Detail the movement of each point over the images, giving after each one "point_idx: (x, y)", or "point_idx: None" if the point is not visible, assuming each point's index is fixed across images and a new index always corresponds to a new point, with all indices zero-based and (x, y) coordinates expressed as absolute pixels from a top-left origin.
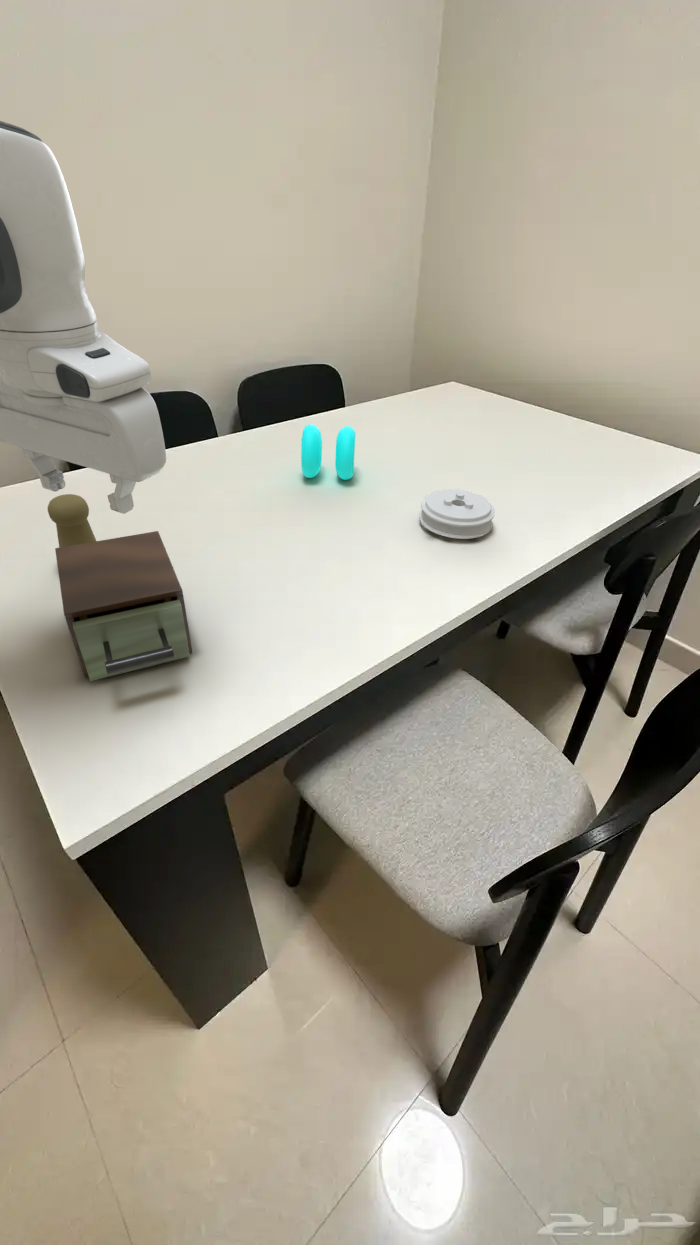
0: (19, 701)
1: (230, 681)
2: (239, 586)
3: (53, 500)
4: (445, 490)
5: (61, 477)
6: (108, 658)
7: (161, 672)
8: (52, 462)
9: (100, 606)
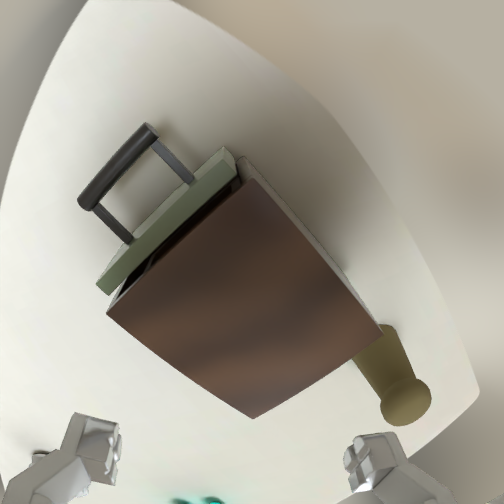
0: (301, 92)
1: (67, 223)
2: (166, 376)
3: (426, 405)
4: (77, 496)
5: (352, 476)
6: (158, 147)
7: (151, 204)
8: (384, 502)
9: (202, 223)
